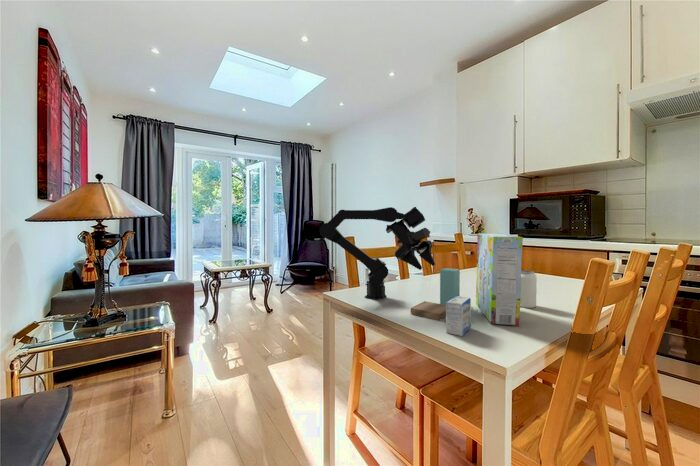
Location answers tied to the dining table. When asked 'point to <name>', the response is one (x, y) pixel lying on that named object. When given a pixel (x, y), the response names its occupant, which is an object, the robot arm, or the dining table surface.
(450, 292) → the carton
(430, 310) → the podium
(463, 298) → the medicine box
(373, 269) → the robot arm
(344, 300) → the dining table surface
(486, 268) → the snack box
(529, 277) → the can
